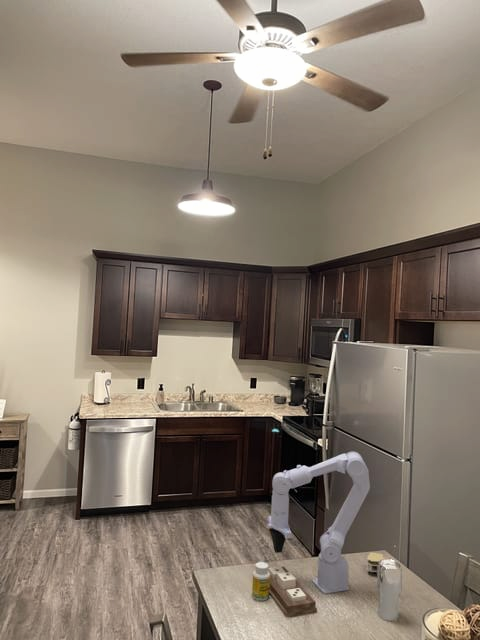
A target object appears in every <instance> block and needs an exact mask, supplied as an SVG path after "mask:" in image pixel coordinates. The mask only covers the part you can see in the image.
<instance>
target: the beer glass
mask: <svg viewBox="0 0 480 640" xmlns="http://www.w3.org/2000/svg"><path fill="white" fill-rule="evenodd" d="M402 567H403V566H402V564H401V563H400V562H399V561H397V560H394V559H391V558H384V559H381V560H379V565H378V575H377V574H376V576H377V577H376V578H377V581H376V583H377V589H378V596H379V597H378V598H379V603H378V608H377V615H378V617H379V618H380V619H383V620H384V619H385V620H384V621H386V620H388V622H392V621H393V622H396V621H395V620H397V621H398V620H399V619H400V613H399V612H400V611H399V602H400V601H399V600H400V596H401V591H402V586H403V585H402V584H403V569H402Z"/></svg>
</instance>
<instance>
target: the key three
mask: <svg viewBox="0 0 480 640" xmlns="http://www.w3.org/2000/svg"><path fill="white" fill-rule="evenodd" d="M286 595H287V597H288V598H289V599H290V600H291V602H299V601H305V600H306V595H305V594H304V593H303V591H302V590H301V589H300V588H296V589H289V590H286Z"/></svg>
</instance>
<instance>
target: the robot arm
mask: <svg viewBox="0 0 480 640" xmlns="http://www.w3.org/2000/svg"><path fill="white" fill-rule="evenodd" d="M334 471H335V472H336V471H337V472H339V473H342V474H344V475H345V474H346V472H347V474H348V475H349V476H350V478H351V479H352V483H353V485H352V487H351V489H350V490H349V492H348V495H347V496H346V499H345V501H344V502H343V504H342V506H341V508H340V509H339V512H338V514H337V516H336V518H335V520H334V522H333V523H332V525H331V526H330V527H328V528H327V529H328V530H327V531H326V532H324V533H323V534H322V535H321V536H320V538H319V545H320V553H319V554H318V561H317V562H318V563H317V564H318V565H317V578H316V579H312V580H311V581H312V583H313V584H314V585H315V586H316V587H317V588H318V589H319V591H321V592H322V593H323V594H330V593H337V592H342V591H343V592H344V591H350V587H349V571H350V570H349V564H348V561H347V559H346V558H345V557H344V556H342V548H343V546H344V542H345V538H346V536H347V533H348V532H349V530H350V528H351V526H352V524H353V522H354V520H355V518H356V517H357V514H358V512H359V511H360V508H361V507H362V504H363V503H364V501H365V499H366V498H367V495H368V493H369V491H370V488H371V484H370V483H371V482H370V475H369V472H370V471H369V469H368V466H367V464H366V463H365V461H364V459H363V456H362V455H361V454H360V453H358V452H357V451H349V452H347V453H341V454H338V455H337V456H334V457H331V458H329V459H326V460H324V461H322V462H320V463H317V464H314V465H312V466H306V465H301V464H297V465H296V468H292V469H290V470H287V469H285V470H283V472H282V471H281V472H277V473H275V474H274V475H273V477H272V483H271V484H272V486H271V487H272V492H271V493H272V495H271V508H270V510H271V513H270V515H268V516H267V522H268V523H267V527H268V528H269V529H268V532H269V533H270V536H271V540H272V545H273V551H274V552H275V554H279V553H282V552H283V550H284V549H283V548H284V545H285V543H286V540H287V539H289V540H290V539H292V531H291V529H290V525H289V511H290V510H289V509H290V508H289V507H290V506H289V505H290V496H289V491H290V489H295V488H297V487H301V486H303V485H306V484H310V483H312V482H311V481H312V479H313V478H314V477H318V476H321V475H326V474H328V473H332V472H334Z"/></svg>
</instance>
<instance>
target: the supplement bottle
mask: <svg viewBox="0 0 480 640" xmlns="http://www.w3.org/2000/svg"><path fill="white" fill-rule="evenodd" d="M254 567H255V568H254V571H253V573H252V589H251V591H252V593H251V595H252V598H253V599H254V600H256V601H267V600H268V598H269V597H270V595H269V589H270V573H269V571H268V568H269V564H268V563H266V562H263V561H258V562H256V563H255V566H254Z"/></svg>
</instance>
